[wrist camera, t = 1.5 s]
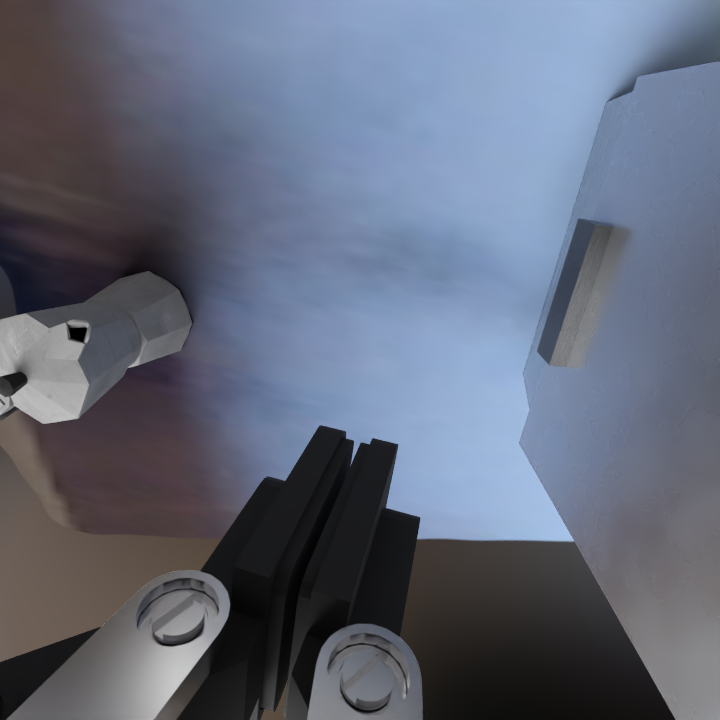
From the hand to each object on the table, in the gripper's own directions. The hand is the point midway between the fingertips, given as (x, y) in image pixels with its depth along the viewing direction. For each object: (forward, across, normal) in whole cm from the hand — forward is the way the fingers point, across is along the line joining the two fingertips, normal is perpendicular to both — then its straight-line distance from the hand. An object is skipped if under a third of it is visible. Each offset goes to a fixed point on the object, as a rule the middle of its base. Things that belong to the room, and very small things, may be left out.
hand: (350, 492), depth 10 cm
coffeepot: (+35, +29, +13) cm, 48 cm away
